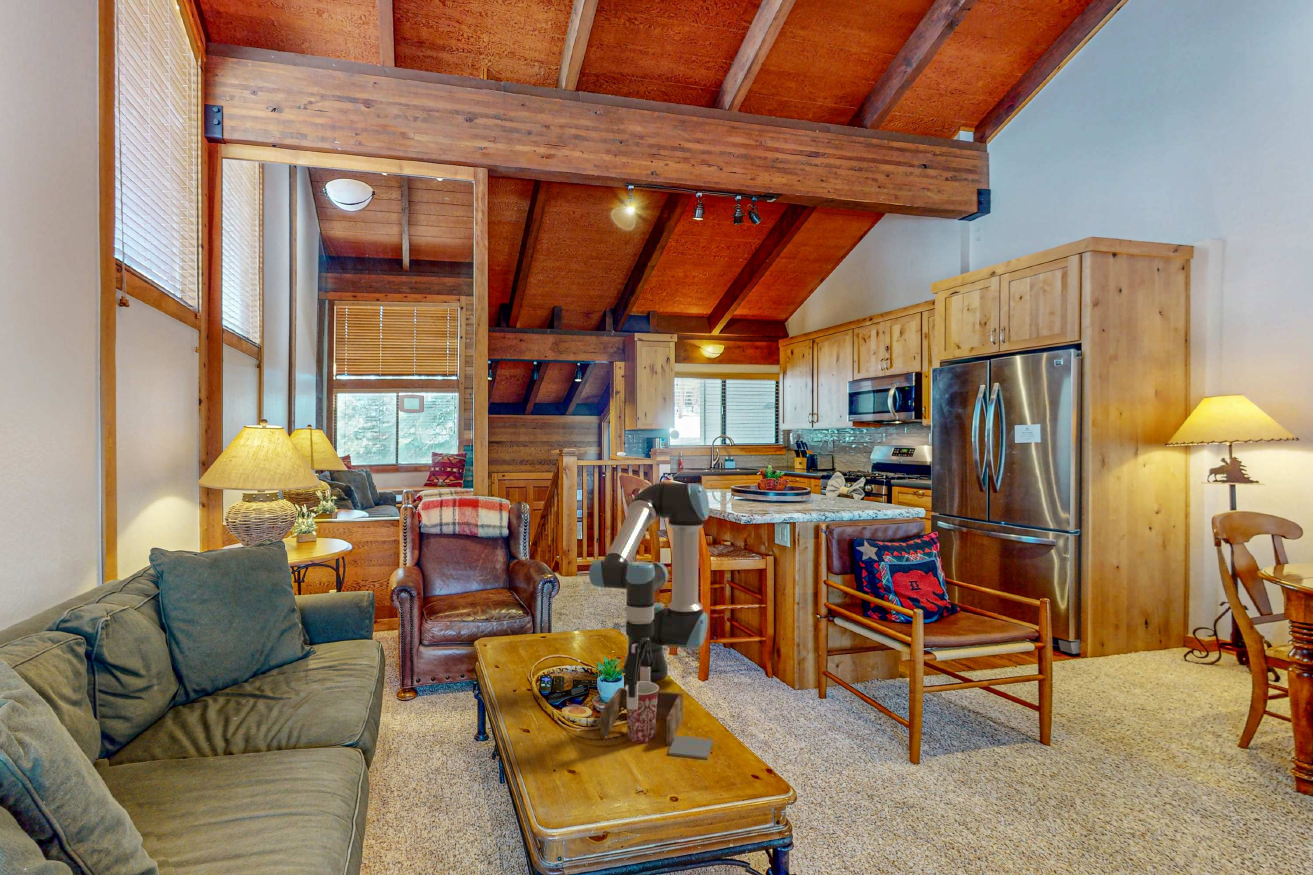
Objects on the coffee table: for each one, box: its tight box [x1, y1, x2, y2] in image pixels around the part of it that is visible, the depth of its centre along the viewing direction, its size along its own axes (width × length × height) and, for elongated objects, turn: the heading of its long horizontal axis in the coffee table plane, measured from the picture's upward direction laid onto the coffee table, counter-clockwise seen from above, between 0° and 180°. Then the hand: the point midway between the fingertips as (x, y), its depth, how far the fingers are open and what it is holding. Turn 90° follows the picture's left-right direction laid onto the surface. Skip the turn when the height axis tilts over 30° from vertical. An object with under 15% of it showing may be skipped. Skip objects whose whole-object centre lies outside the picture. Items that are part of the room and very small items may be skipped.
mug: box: [624, 681, 660, 744], centre depth 185 cm, size 13×9×14 cm
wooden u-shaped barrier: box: [599, 687, 684, 747], centre depth 189 cm, size 18×19×7 cm
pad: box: [667, 735, 714, 760], centre depth 177 cm, size 10×10×1 cm
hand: (638, 699), depth 184 cm, fingers open, 13 cm apart
